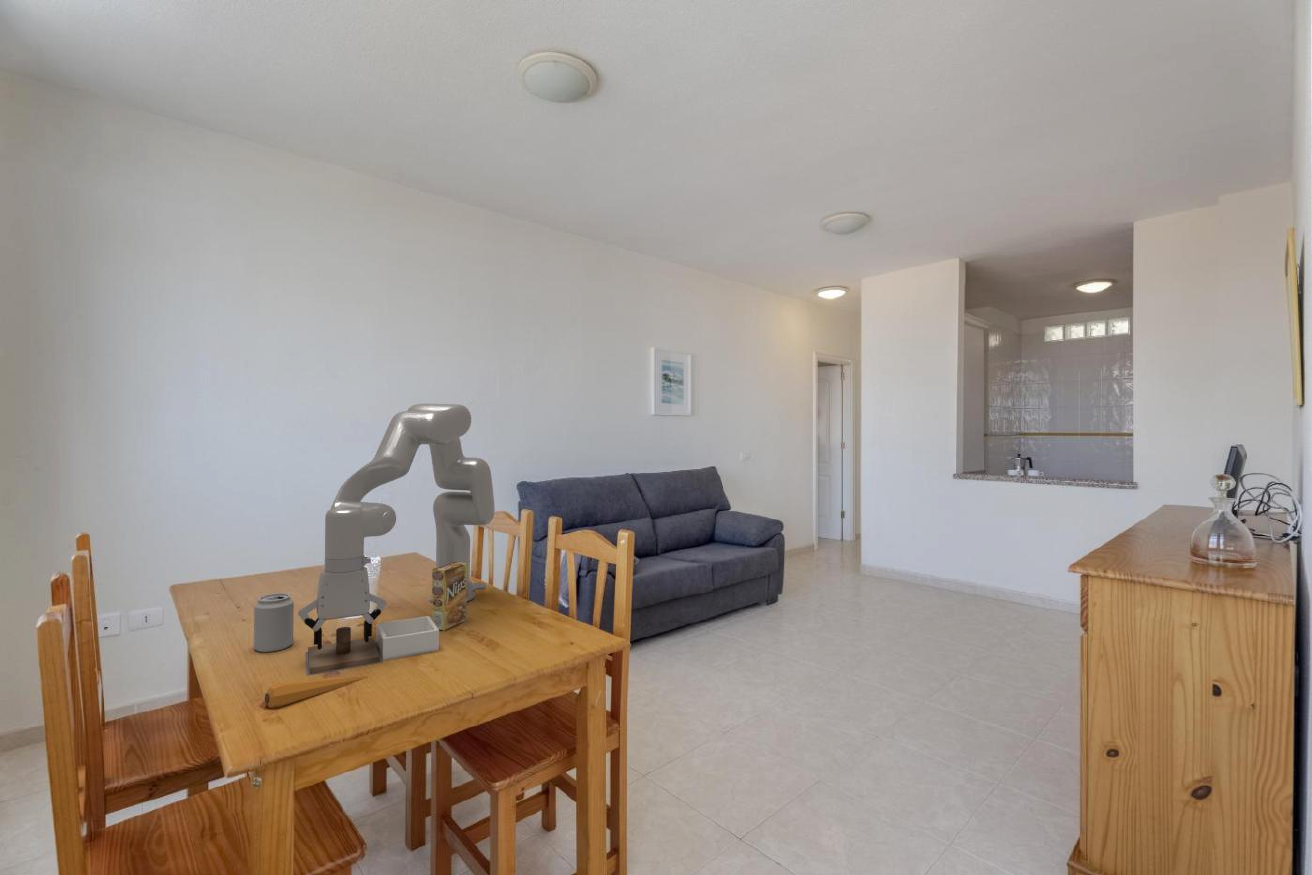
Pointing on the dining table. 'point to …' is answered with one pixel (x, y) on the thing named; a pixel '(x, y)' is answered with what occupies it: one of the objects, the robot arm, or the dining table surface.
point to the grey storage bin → (407, 637)
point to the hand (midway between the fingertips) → (343, 643)
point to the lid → (342, 653)
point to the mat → (333, 670)
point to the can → (273, 622)
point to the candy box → (449, 595)
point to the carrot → (304, 689)
